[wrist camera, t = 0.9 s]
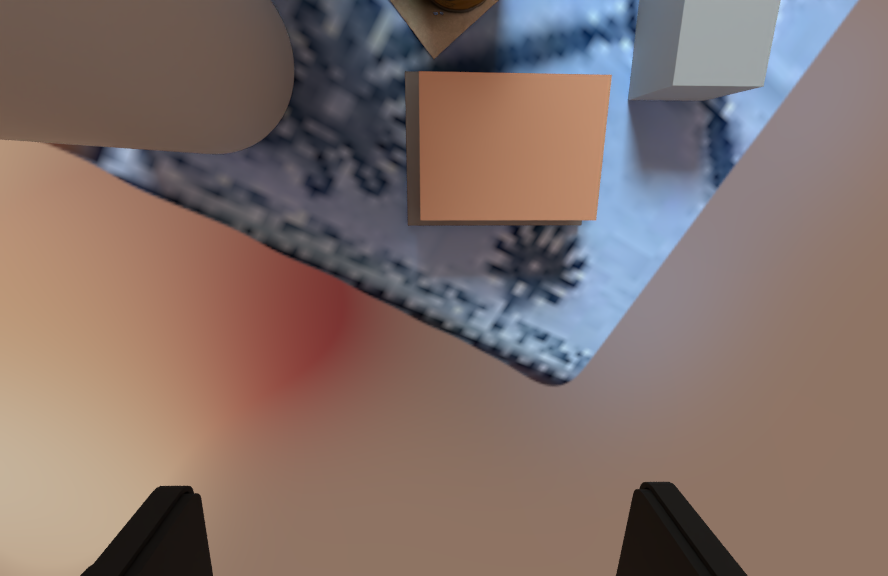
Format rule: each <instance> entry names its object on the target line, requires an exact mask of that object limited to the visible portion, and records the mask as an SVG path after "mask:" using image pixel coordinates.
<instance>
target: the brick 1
mask: <svg viewBox="0 0 888 576" xmlns="http://www.w3.org/2000/svg"><path fill="white" fill-rule="evenodd" d="M611 77H612V75H587V74H535V73H483V72H431V71H419V126H420V219H421V220H596V215H597V206H598V197H599V188H600V178H601V169H602V160H603V151H604V142H605V132H606V123H607V114H608V105H609V95H610V86H611Z"/></svg>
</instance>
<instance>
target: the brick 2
mask: <svg viewBox="0 0 888 576" xmlns="http://www.w3.org/2000/svg"><path fill="white" fill-rule="evenodd" d="M779 5H780V0H639V7H638V16H637V25H636V33H635V42H634V51H633V60H632V68H631V77H630V86H629V94H628V100H663V101H704V100H709V99H713V98H717V97H721V96H725V95H730V94H734V93H738V92H742V91H746V90H751V89H755V88H759V87H763V86H764V81H765V76H766V71H767V66H768V61H769V56H770V51H771V46H772V41H773V35H774V30H775V25H776V20H777V15H778V10H779Z"/></svg>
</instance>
